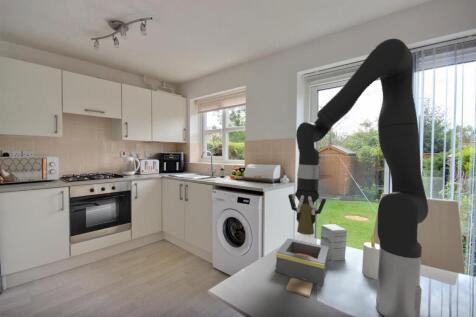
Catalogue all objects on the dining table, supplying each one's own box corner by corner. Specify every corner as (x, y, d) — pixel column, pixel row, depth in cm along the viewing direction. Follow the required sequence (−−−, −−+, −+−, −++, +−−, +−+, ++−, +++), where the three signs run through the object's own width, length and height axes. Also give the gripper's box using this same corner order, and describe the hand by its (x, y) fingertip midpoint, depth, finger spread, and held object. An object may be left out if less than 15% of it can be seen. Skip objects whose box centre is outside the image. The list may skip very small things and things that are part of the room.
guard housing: (327, 264, 89) (328, 246, 89) (323, 285, 74) (324, 264, 74) (286, 254, 96) (287, 238, 96) (275, 272, 81) (276, 252, 81)
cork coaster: (312, 285, 74) (312, 283, 74) (309, 297, 68) (309, 295, 68) (291, 279, 77) (291, 277, 77) (286, 289, 71) (286, 287, 71)
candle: (386, 276, 82) (388, 235, 81) (375, 280, 79) (377, 237, 78) (369, 268, 87) (371, 229, 87) (358, 271, 84) (360, 231, 84)
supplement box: (319, 253, 99) (320, 224, 98) (333, 252, 101) (334, 223, 101) (330, 261, 92) (332, 230, 91) (345, 259, 94) (347, 229, 94)
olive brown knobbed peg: (315, 235, 81) (316, 204, 81) (297, 233, 82) (298, 203, 82) (313, 230, 87) (314, 201, 87) (296, 228, 88) (298, 200, 88)
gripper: (329, 178, 84) (327, 224, 85) (291, 174, 91) (289, 217, 91) (327, 179, 78) (325, 229, 78) (286, 176, 84) (284, 222, 84)
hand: (305, 223), depth 84 cm, fingers closed on olive brown knobbed peg, 4 cm apart
